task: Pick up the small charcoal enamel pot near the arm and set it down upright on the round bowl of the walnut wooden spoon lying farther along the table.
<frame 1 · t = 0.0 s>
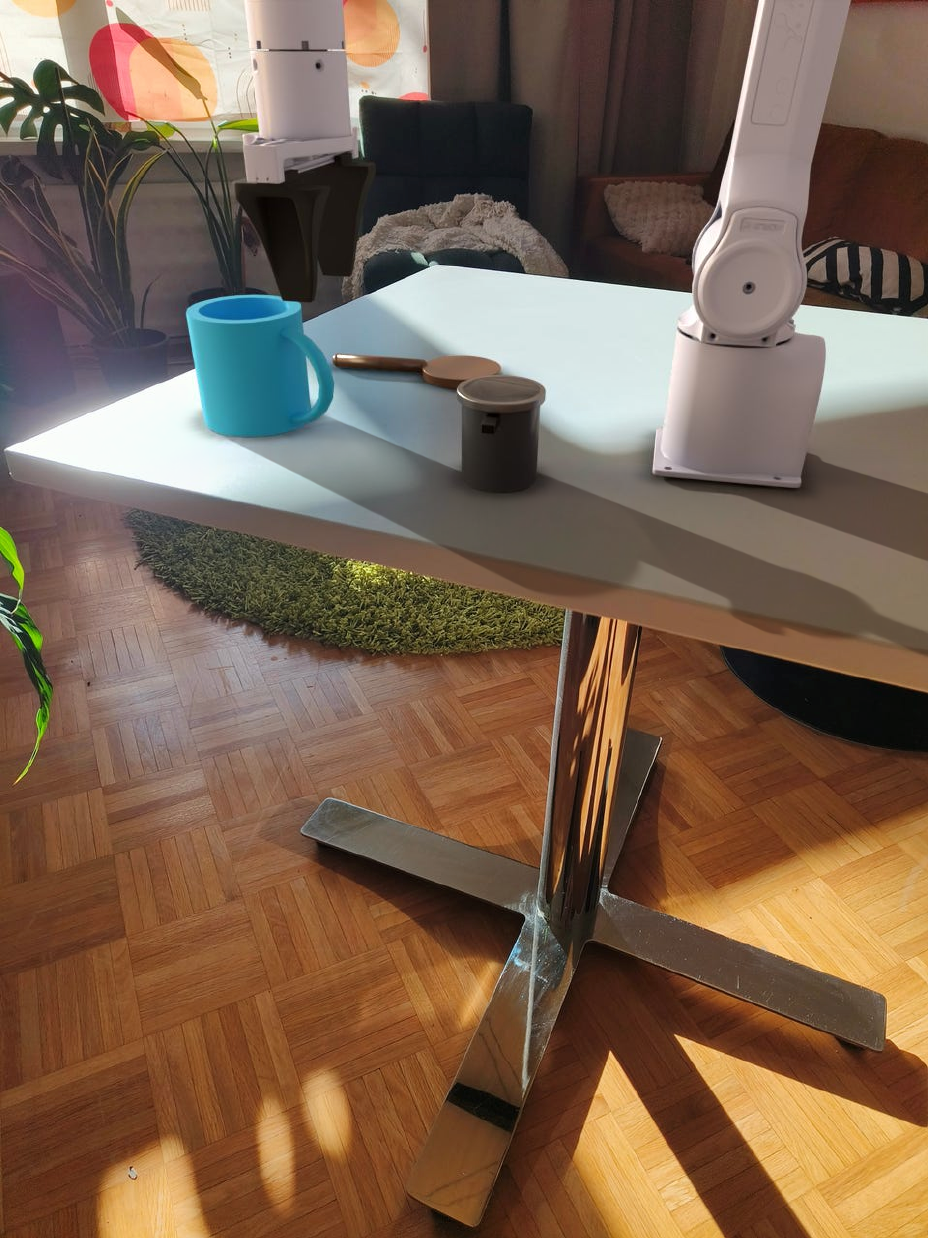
hand: (318, 287, 59), 10 cm above the table, tool pointing down, fingers open, 7 cm apart
mug: (277, 424, 66), on the table
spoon: (461, 375, 75), on the table
pot: (498, 476, 58), on the table
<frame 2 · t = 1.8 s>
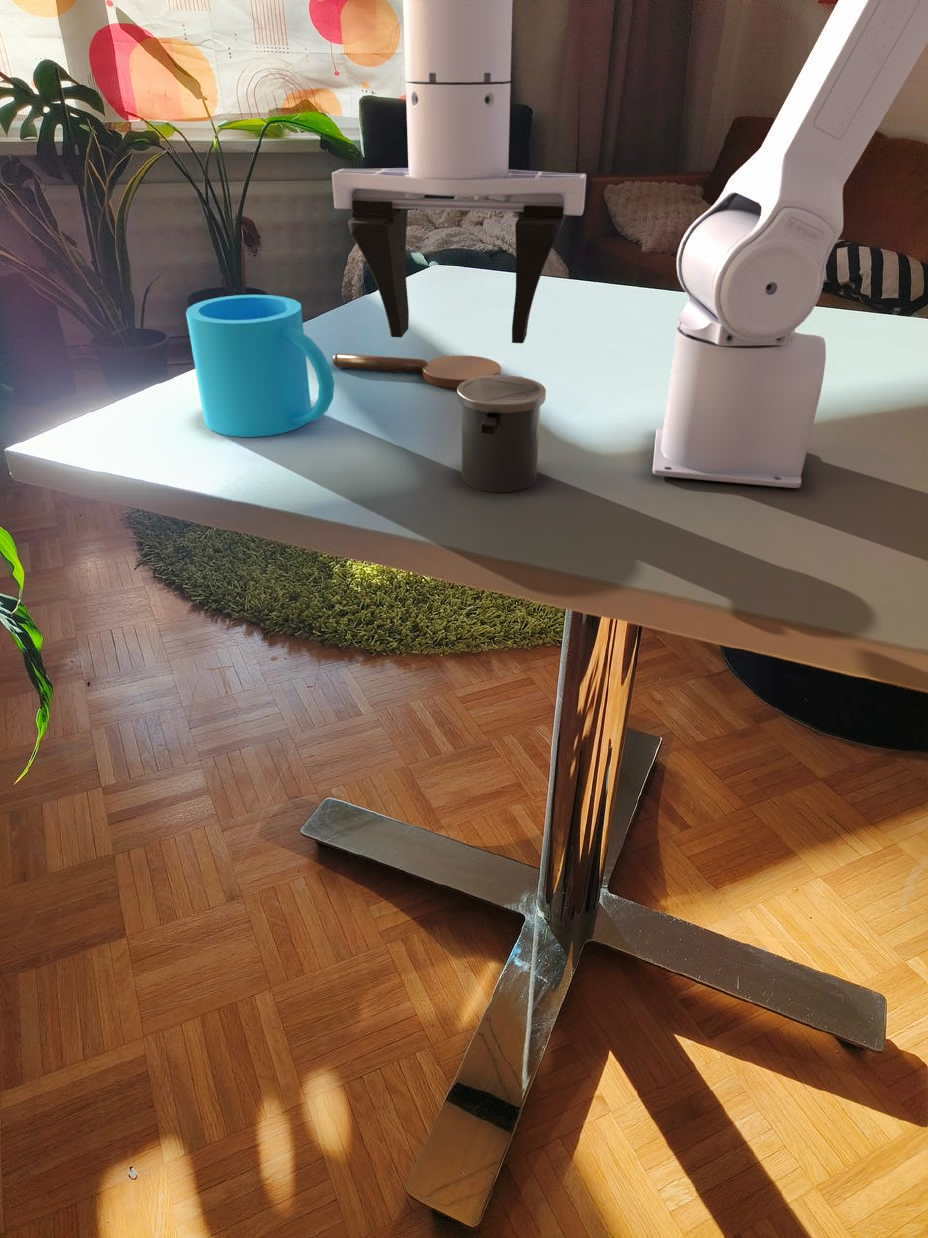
hand: (458, 335, 54), 9 cm above the table, tool pointing down, fingers open, 7 cm apart
nothing on the table moved.
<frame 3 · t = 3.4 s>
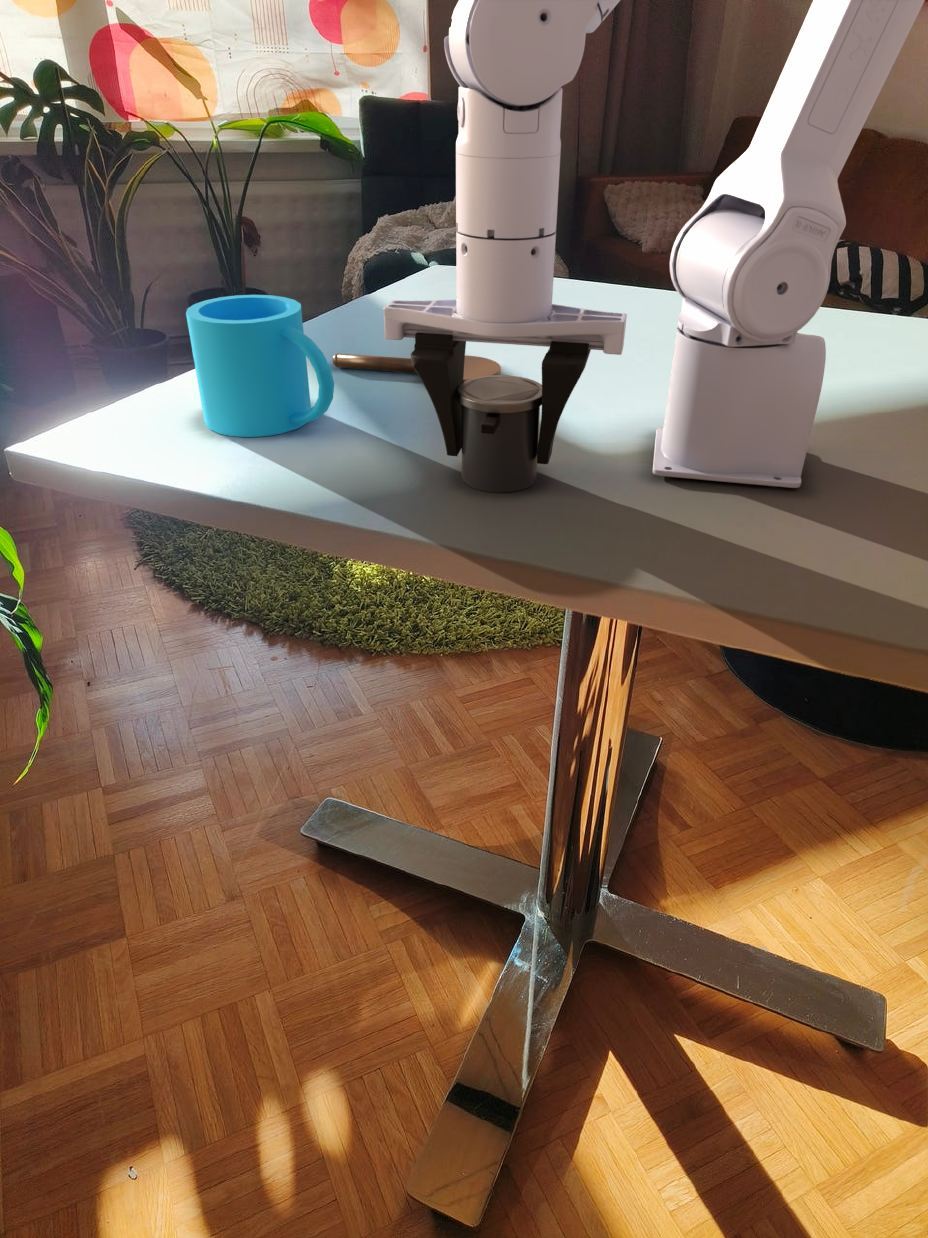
hand: (500, 454, 57), 2 cm above the table, tool pointing down, fingers closed on pot, 5 cm apart
pot: (498, 476, 58), on the table, touching gripper
everything else where it was.
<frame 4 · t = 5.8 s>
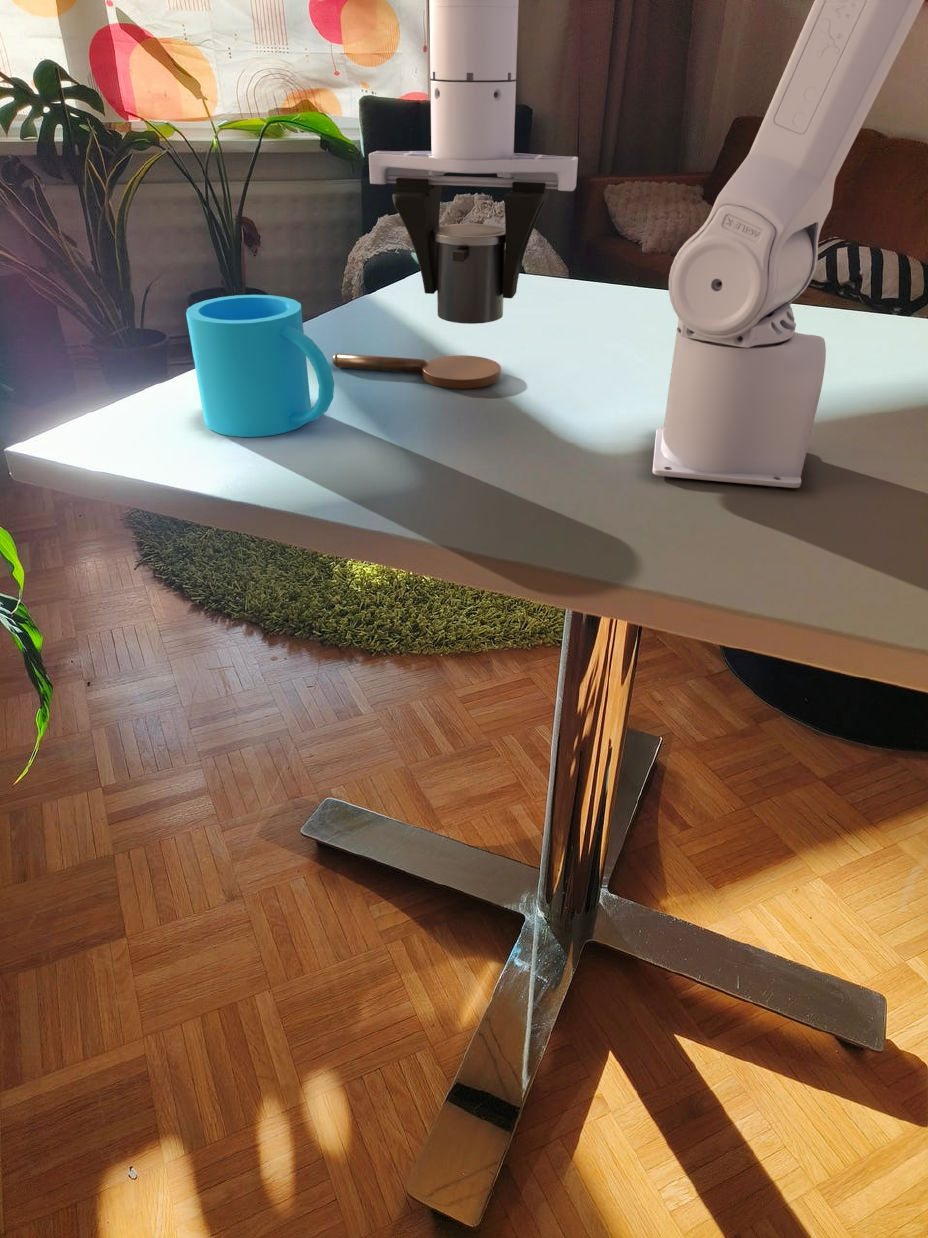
hand: (471, 292, 65), 8 cm above the table, tool pointing down, fingers closed on pot, 5 cm apart
pot: (470, 314, 66), point 7 cm above the table, touching gripper
everything else where it was.
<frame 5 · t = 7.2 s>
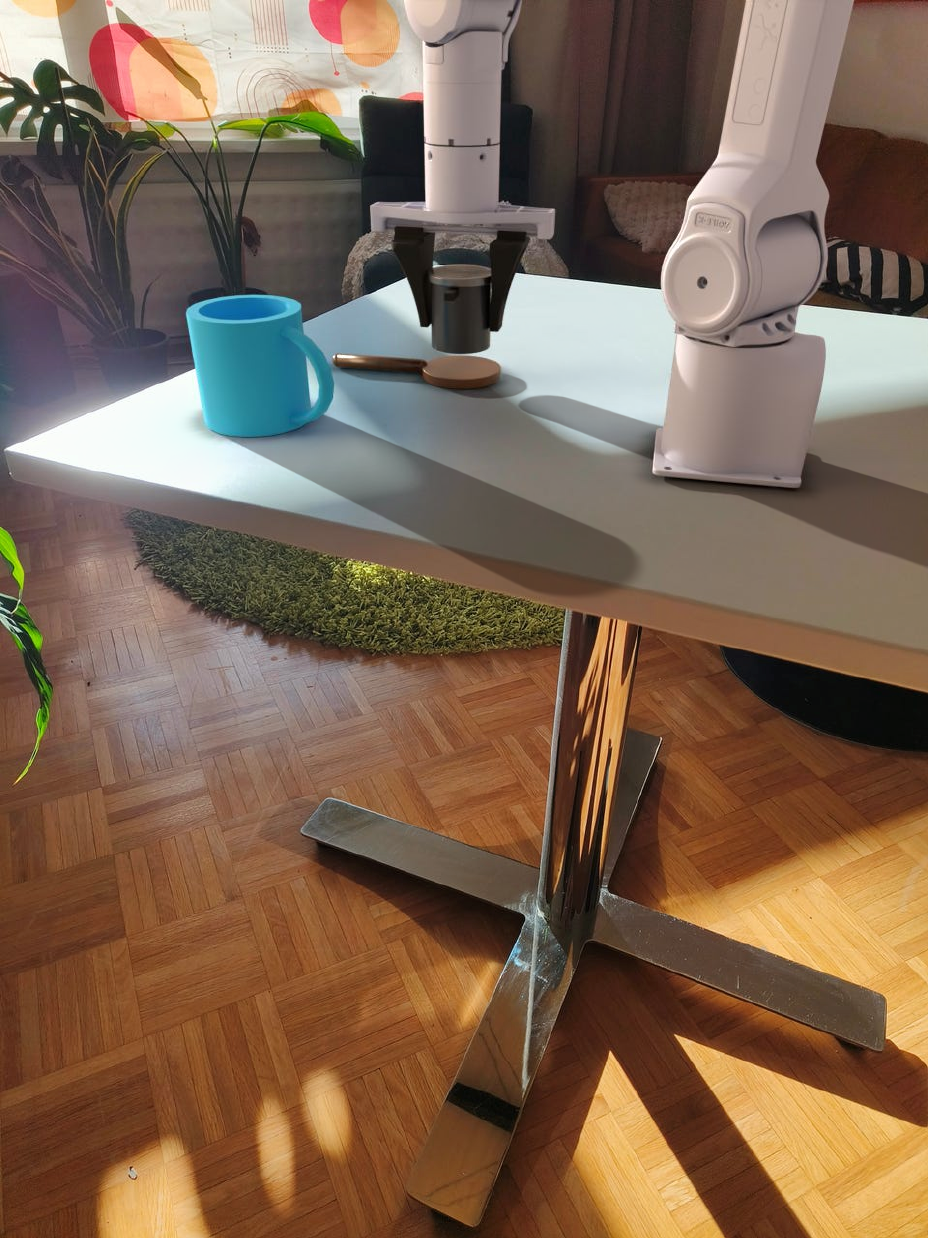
hand: (461, 326, 73), 4 cm above the table, tool pointing down, fingers closed on pot, 5 cm apart
pot: (461, 345, 74), point 3 cm above the table, touching gripper
everything else where it was.
when the fingers open (2 cm above the table, at t = 8.4 s): pot stays where it is, resting on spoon.
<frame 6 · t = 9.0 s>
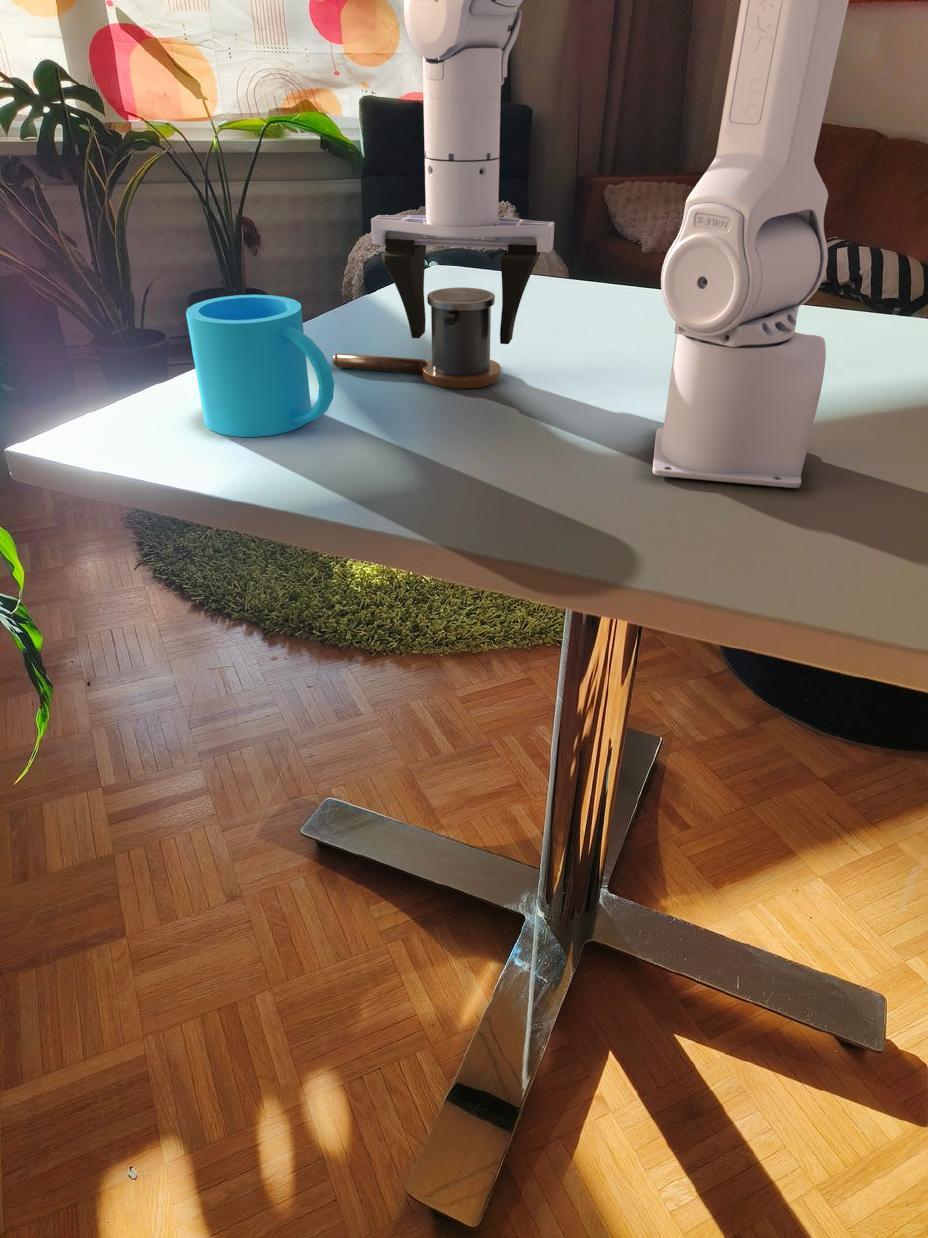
hand: (461, 337, 73), 3 cm above the table, tool pointing down, fingers open, 7 cm apart
pot: (461, 366, 75), point 1 cm above the table, touching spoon
everything else where it was.
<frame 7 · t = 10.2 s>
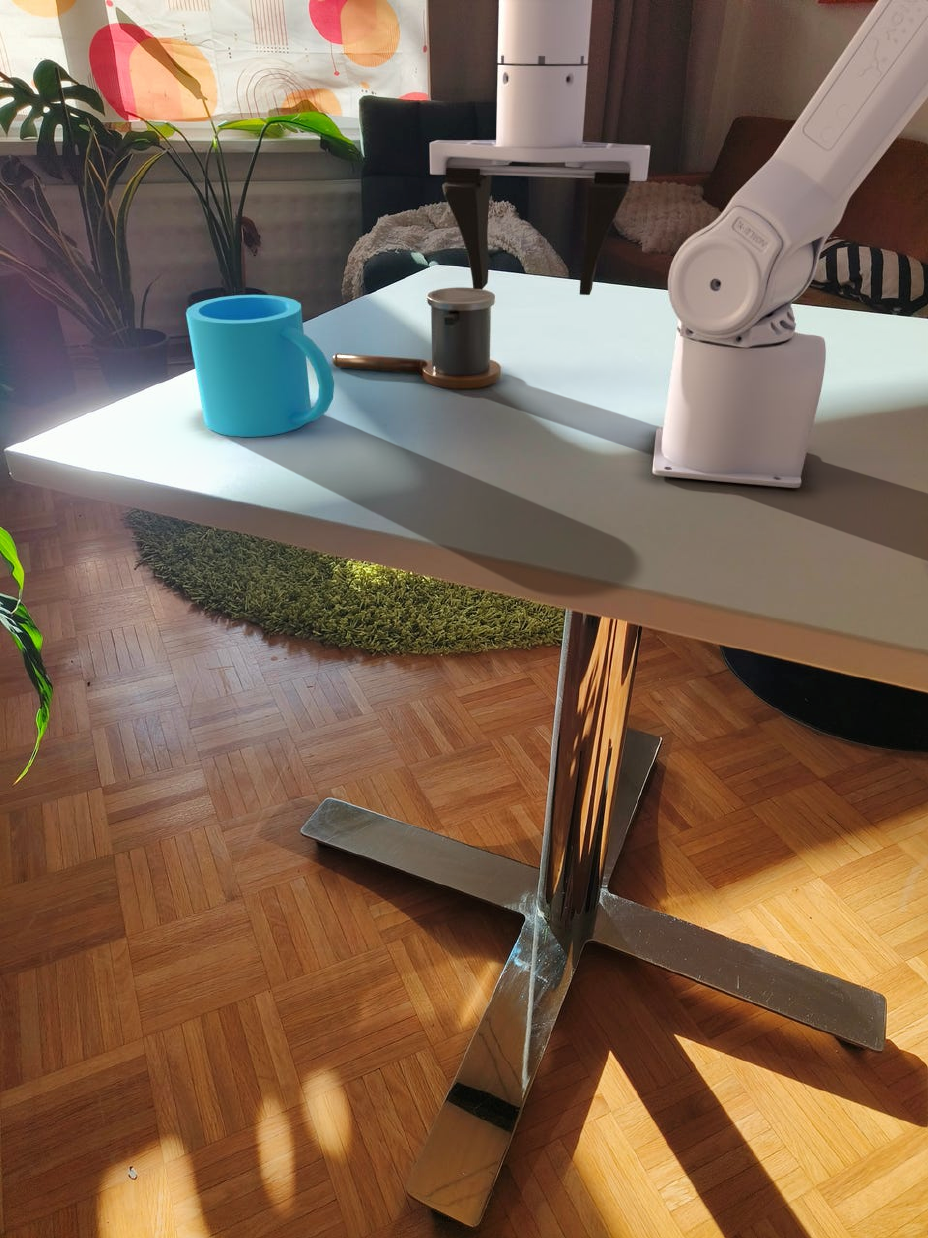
hand: (532, 288, 62), 9 cm above the table, tool pointing down, fingers open, 7 cm apart
nothing on the table moved.
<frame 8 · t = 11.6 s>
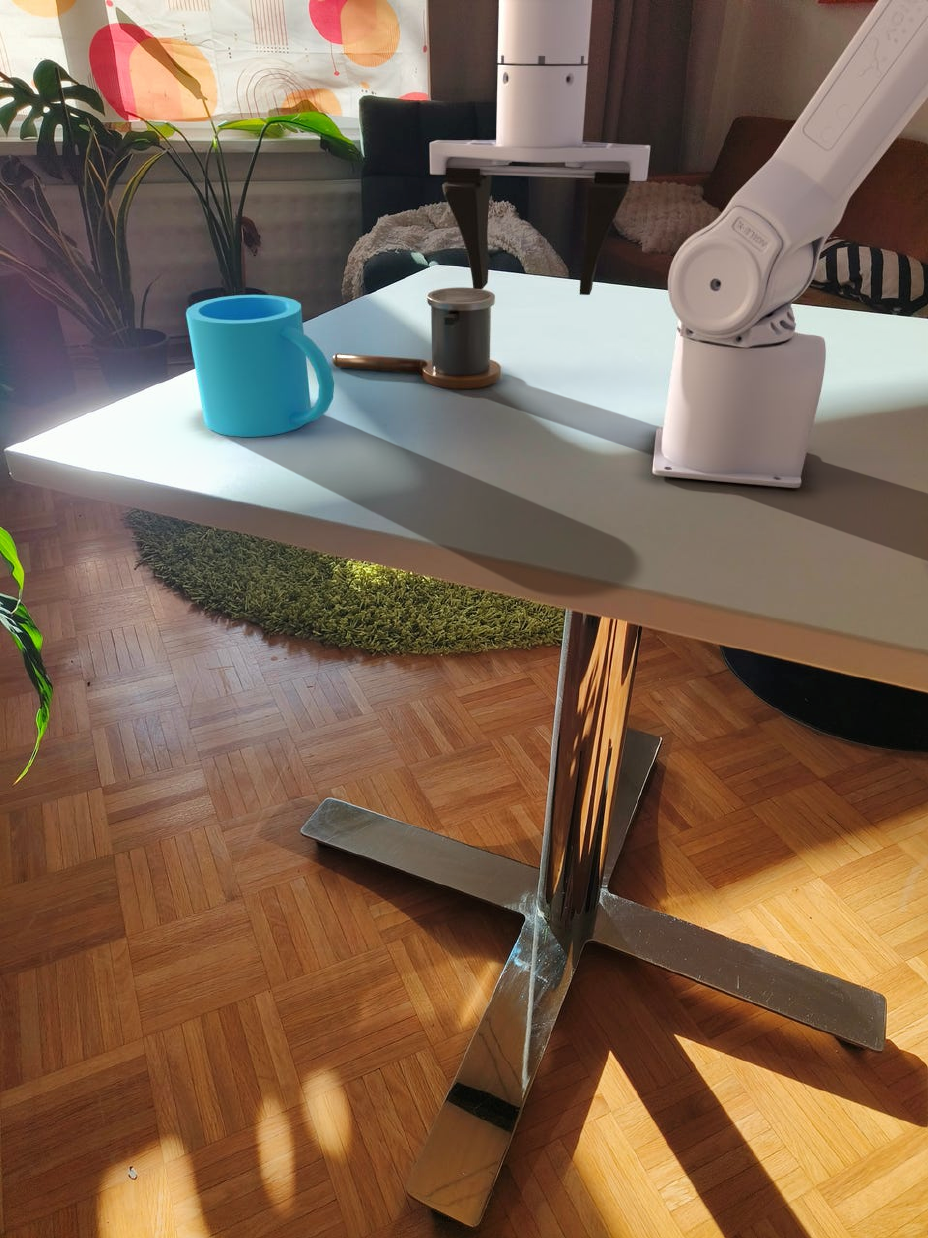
hand: (532, 288, 62), 9 cm above the table, tool pointing down, fingers open, 7 cm apart
nothing on the table moved.
at the end: pot 0.1 cm off-centre on the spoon, point 0.8 cm above the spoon's base; pot tilted 0° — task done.
